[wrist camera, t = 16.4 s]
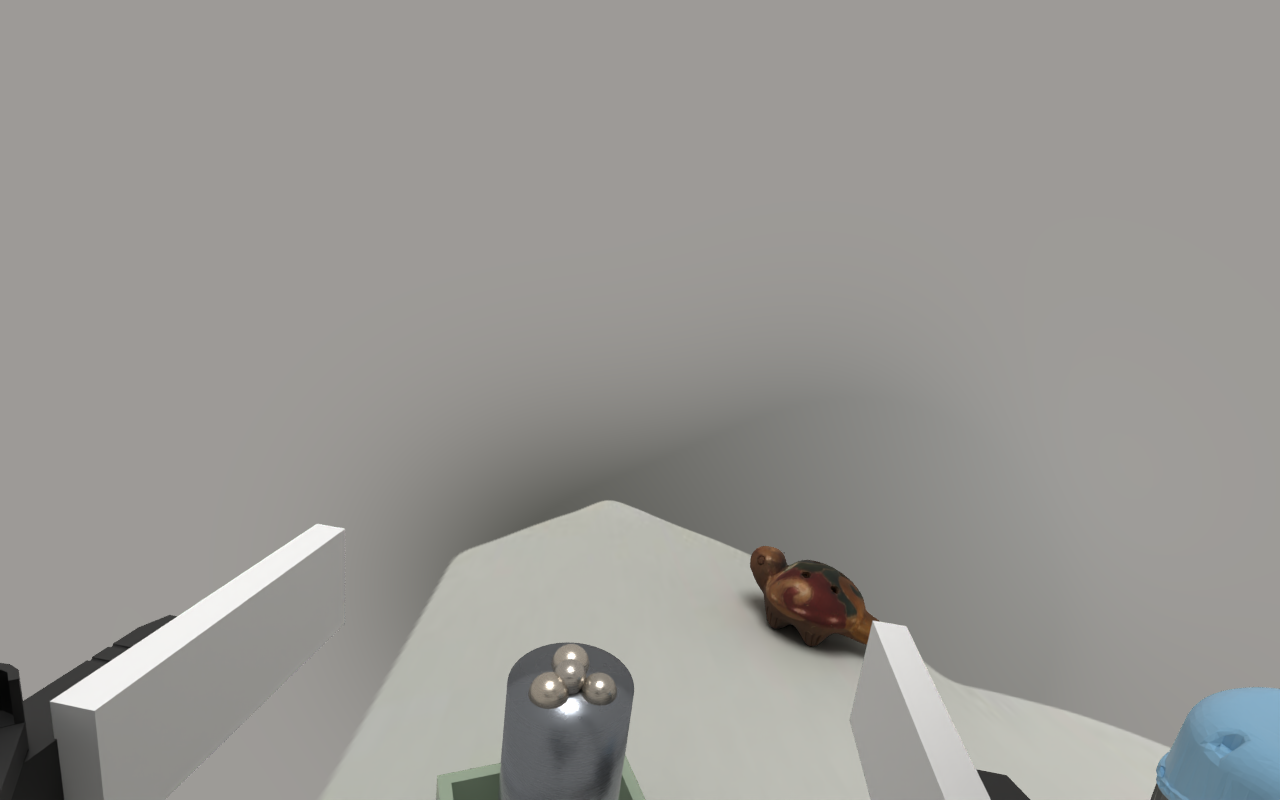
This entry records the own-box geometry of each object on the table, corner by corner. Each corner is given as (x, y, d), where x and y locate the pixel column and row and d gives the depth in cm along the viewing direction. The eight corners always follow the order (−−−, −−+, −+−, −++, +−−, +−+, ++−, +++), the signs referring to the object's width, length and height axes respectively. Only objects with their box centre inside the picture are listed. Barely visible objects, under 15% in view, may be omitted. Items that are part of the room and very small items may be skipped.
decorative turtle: (751, 587, 78) (767, 528, 76) (877, 642, 71) (898, 578, 70) (723, 620, 69) (740, 554, 67) (863, 685, 63) (887, 614, 61)
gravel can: (589, 814, 43) (615, 616, 39) (621, 919, 37) (655, 695, 33) (484, 836, 41) (501, 627, 37) (499, 953, 34) (521, 716, 30)
